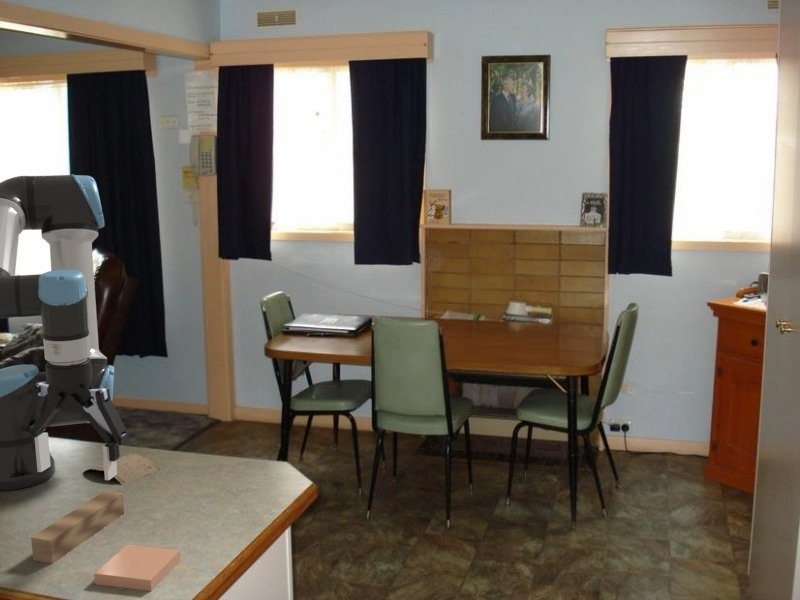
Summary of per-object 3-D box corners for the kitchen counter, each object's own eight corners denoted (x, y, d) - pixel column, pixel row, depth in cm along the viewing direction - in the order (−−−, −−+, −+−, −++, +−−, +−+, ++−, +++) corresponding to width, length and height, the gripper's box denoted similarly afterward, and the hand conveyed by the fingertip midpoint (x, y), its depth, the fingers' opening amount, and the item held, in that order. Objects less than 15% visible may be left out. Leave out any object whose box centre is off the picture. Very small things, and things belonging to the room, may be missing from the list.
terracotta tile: (126, 544, 147) (94, 573, 137) (180, 550, 145) (150, 580, 135) (127, 556, 147) (95, 586, 138) (180, 563, 145) (151, 593, 136)
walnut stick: (106, 512, 164) (104, 490, 163) (124, 515, 163) (122, 493, 162) (33, 561, 145) (31, 537, 144) (52, 565, 144) (50, 540, 143)
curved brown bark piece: (163, 472, 184) (162, 461, 183) (125, 489, 176) (124, 477, 175) (118, 459, 191) (117, 448, 191) (80, 474, 183) (79, 462, 183)
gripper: (-9, 360, 148) (3, 473, 152) (120, 371, 142) (128, 489, 146) (20, 348, 155) (30, 457, 159) (144, 359, 149) (150, 471, 154)
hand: (77, 473), depth 153 cm, fingers open, 13 cm apart
